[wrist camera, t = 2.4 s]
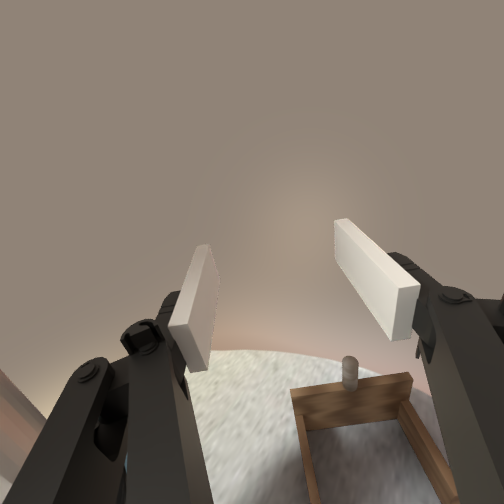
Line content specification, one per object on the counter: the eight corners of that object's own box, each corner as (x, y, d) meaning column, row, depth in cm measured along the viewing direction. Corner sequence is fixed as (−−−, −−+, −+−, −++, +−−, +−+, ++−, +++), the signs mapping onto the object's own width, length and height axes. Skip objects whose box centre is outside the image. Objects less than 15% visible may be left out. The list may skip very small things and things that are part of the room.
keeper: (314, 526, 30) (305, 476, 23) (295, 421, 40) (285, 365, 33) (455, 509, 29) (492, 453, 22) (398, 407, 39) (411, 346, 32)
